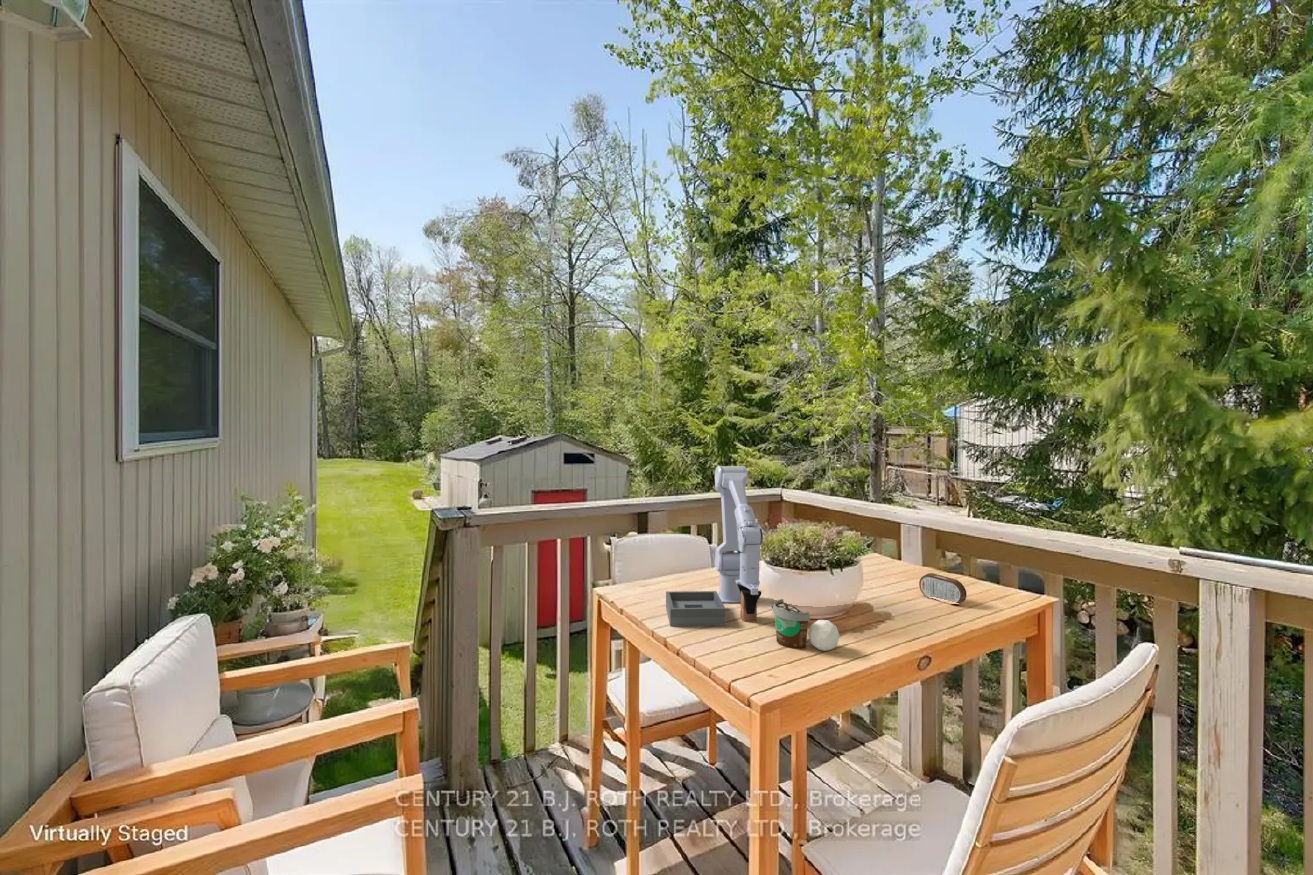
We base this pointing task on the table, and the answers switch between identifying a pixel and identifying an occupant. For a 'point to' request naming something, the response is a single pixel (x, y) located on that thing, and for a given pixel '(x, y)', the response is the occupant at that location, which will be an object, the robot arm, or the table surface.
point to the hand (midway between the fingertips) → (748, 610)
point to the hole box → (695, 608)
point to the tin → (942, 588)
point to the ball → (823, 635)
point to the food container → (790, 625)
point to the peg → (744, 614)
